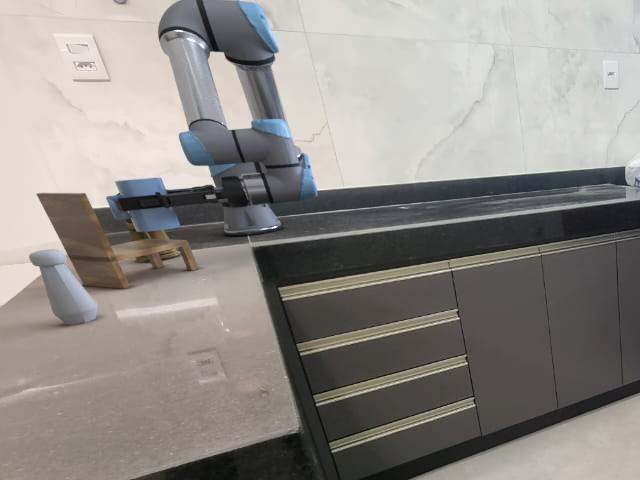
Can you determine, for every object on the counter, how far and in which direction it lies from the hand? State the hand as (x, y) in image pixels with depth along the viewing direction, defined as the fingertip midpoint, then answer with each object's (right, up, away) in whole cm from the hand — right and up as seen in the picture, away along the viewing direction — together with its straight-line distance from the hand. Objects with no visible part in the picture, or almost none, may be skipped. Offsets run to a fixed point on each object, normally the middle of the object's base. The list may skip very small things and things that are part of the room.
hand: (123, 202), depth 118 cm
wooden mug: (-12, -9, +22) cm, 26 cm away
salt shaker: (+13, -28, -21) cm, 38 cm away
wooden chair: (-1, -16, +6) cm, 17 cm away
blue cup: (+3, -5, +4) cm, 7 cm away
